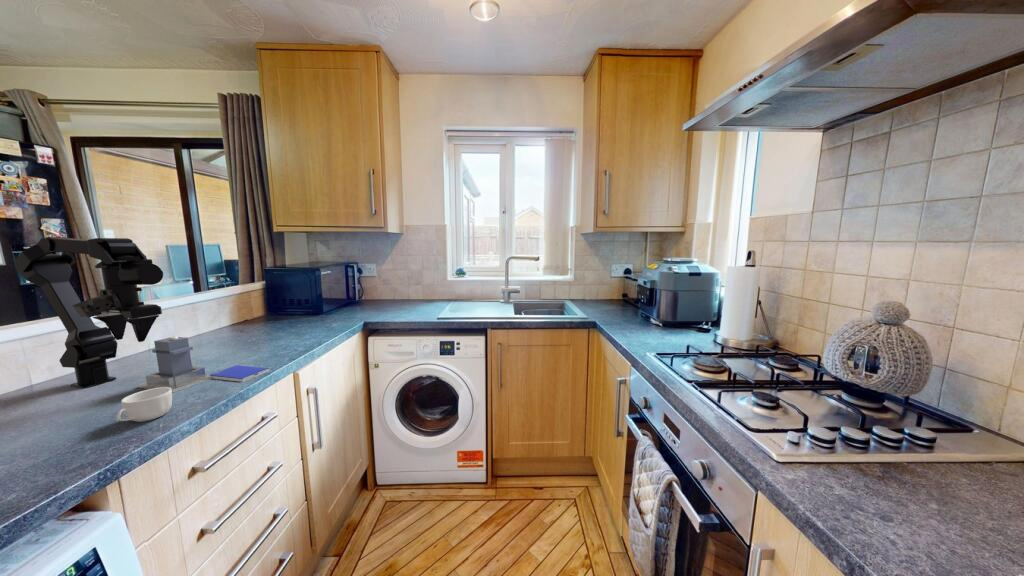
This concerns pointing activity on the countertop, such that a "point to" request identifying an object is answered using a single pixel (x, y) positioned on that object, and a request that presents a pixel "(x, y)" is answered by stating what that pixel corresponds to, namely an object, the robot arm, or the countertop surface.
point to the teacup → (146, 404)
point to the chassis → (176, 380)
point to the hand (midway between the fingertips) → (130, 340)
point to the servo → (173, 356)
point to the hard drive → (239, 373)
